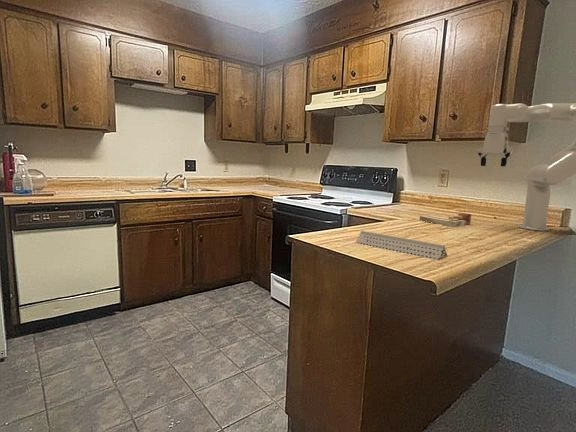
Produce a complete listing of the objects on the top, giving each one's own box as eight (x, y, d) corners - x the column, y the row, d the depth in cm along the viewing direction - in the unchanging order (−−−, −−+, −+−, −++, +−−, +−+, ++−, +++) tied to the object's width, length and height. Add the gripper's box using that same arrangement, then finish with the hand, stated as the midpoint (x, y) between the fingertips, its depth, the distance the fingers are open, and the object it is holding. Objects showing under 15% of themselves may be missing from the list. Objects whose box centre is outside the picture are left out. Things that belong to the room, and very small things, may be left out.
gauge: (462, 223, 188) (463, 213, 187) (470, 224, 184) (471, 214, 183) (445, 225, 180) (446, 214, 179) (452, 226, 176) (453, 215, 175)
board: (431, 219, 197) (431, 215, 197) (465, 225, 180) (465, 220, 180) (419, 220, 192) (420, 216, 191) (453, 226, 175) (454, 221, 175)
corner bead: (354, 245, 133) (354, 231, 132) (366, 241, 139) (367, 229, 138) (437, 262, 112) (439, 247, 111) (447, 257, 118) (449, 243, 117)
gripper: (519, 130, 167) (515, 166, 170) (483, 132, 182) (479, 165, 184) (511, 129, 163) (507, 166, 166) (475, 131, 178) (471, 165, 180)
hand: (492, 166), depth 175 cm, fingers open, 9 cm apart
